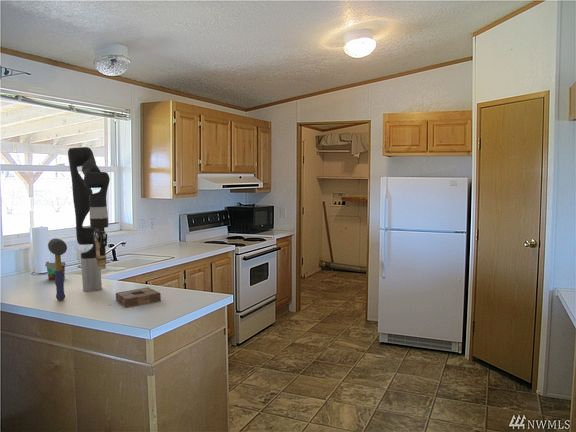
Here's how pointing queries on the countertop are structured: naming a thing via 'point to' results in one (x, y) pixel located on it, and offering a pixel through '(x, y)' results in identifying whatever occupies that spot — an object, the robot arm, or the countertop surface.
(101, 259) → the oak peg
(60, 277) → the rubber mallet
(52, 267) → the food container
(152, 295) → the walnut board
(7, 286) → the countertop surface
